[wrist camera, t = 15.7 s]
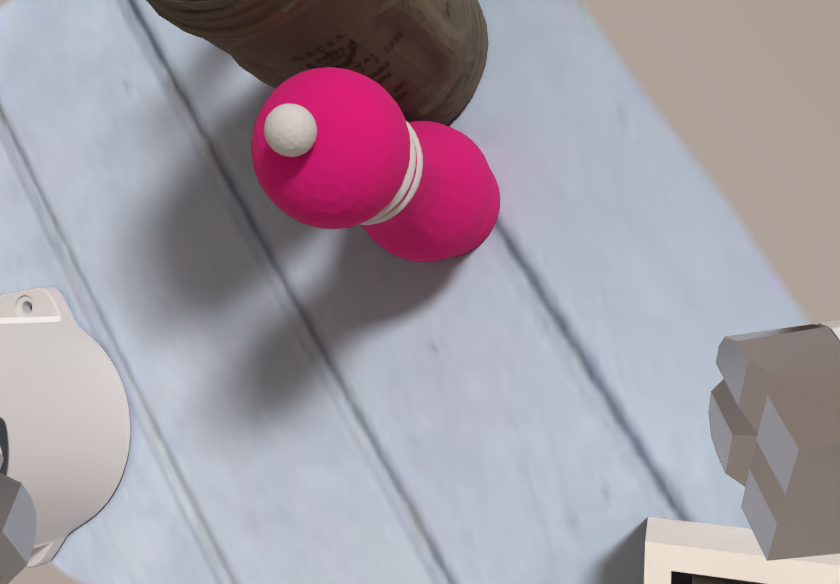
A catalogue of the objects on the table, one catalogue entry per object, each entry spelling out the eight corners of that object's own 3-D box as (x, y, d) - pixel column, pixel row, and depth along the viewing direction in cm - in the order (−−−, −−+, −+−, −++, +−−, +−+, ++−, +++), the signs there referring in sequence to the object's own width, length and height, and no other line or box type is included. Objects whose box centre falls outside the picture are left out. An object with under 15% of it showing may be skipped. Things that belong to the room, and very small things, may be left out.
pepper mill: (472, 288, 44) (318, 273, 25) (367, 231, 46) (151, 177, 27) (532, 173, 43) (420, 65, 24) (422, 120, 45) (239, -19, 26)
